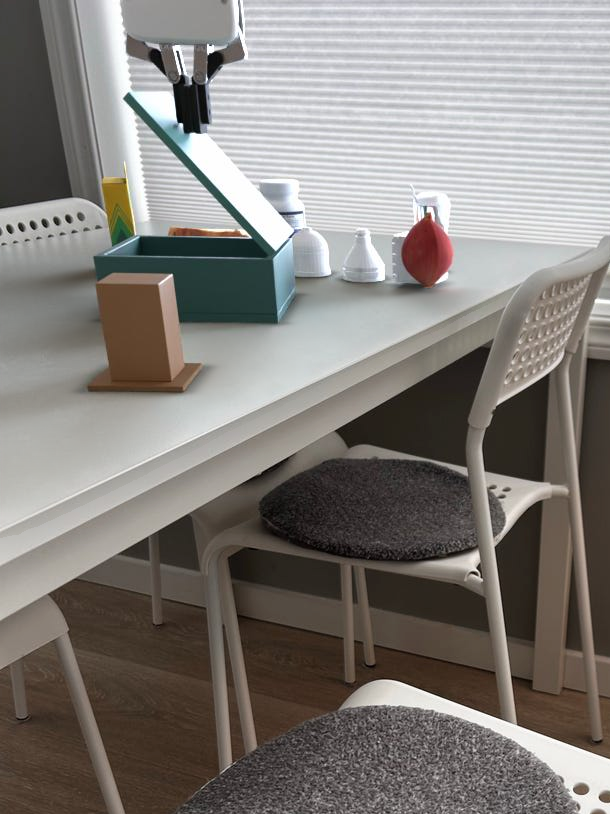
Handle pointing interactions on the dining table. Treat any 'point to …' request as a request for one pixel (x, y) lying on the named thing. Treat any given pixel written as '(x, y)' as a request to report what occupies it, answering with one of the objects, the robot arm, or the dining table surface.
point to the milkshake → (432, 207)
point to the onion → (427, 251)
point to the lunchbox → (211, 275)
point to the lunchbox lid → (212, 170)
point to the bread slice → (207, 232)
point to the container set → (348, 258)
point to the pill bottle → (284, 201)
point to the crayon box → (118, 208)
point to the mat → (146, 382)
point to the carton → (140, 326)
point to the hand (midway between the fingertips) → (195, 132)
